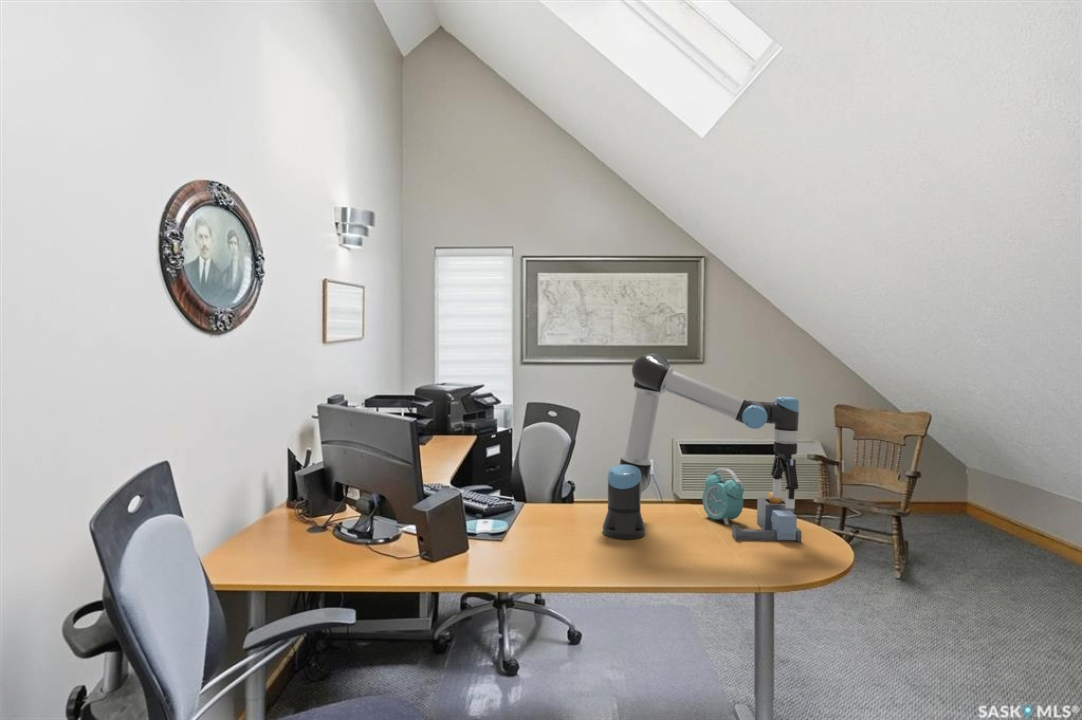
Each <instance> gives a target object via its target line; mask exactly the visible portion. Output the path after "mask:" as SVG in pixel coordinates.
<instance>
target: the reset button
mask: <svg viewBox="0 0 1082 720" xmlns="http://www.w3.org/2000/svg"><path fill="white" fill-rule="evenodd" d="M768 498H769V503H773V504H782V498H783V494H782V492H781V498H775V497H773V491H770V492H768Z"/></svg>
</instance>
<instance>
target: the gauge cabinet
mask: <svg viewBox="0 0 1082 720" xmlns="http://www.w3.org/2000/svg"><path fill="white" fill-rule="evenodd" d="M756 503H757V507H756V508H757V509H756V510H757V511H756V524H757V525H758V526H759V528H760V529H765V530H772V510H782V511H791V512H792V513H793V514H794V515H795V508H794V509H792V508H785V506H786V497H782V504H773V503H769V497H757V502H756Z"/></svg>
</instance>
